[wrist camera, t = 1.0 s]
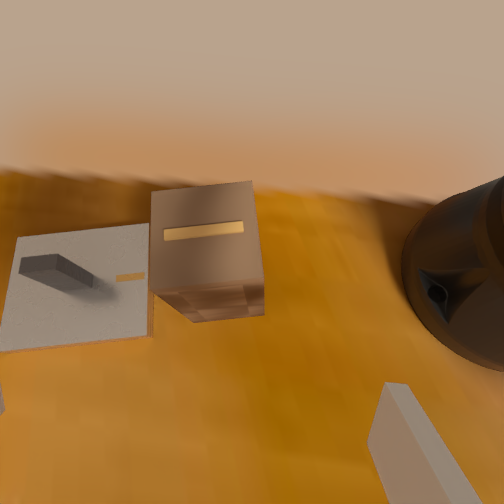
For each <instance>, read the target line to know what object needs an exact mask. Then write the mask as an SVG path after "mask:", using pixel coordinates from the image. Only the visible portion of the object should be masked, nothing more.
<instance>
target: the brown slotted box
mask: <svg viewBox="0 0 504 504" xmlns="http://www.w3.org/2000/svg"><path fill="white" fill-rule="evenodd" d="M150 290H151V291H152V292H153V293H155V294H156V295H157V296H159V297H160V298H161V299H163V300H164V301H165V302H167V303H168V304H169V305H171V306H172V307H173V308H175V309H176V310H177V311H179V312H180V313H181V314H183V315H184V316H185V317H187V318H188V319H189V320H191V321H192V322H193V323H198V322H207V321H216V320H225V319H234V318H243V317H252V316H261V315H264V273H263V265H262V257H261V249H260V240H259V232H258V224H257V216H256V208H255V200H254V191H253V183H252V181H244V182H235V183H225V184H216V185H207V186H198V187H189V188H180V189H171V190H161V191H152V192H151V238H150Z"/></svg>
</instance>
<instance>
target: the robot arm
mask: <svg viewBox="0 0 504 504" xmlns="http://www.w3.org/2000/svg"><path fill="white" fill-rule="evenodd" d="M401 265H402V277H403V283H404V287H405V290H406V293H407V296H408V298H409V301H410V303H411V305H412V307H413V309H414V310H415V312H416V314H417V315H418V317H419V318H420V320H421V321H422V322H423V324H424V325H425V326H426V327H427V328H428V330H429V331H430V332H431V333H432V334H433V335H434V336H435V337H436V338H437V339H438V340H439V341H441V342H442V343H443V344H444V345H445V346H447V347H448V348H449V349H451V350H452V351H454V352H455V353H457V354H458V355H460V356H462V357H463V358H465V359H467V360H469V361H471V362H473V363H476V364H478V365H481V366H483V367H486V368H490V369H493V370H497V371H503V372H504V176H503V177H501V178H498V179H496V180H493V181H491V182H488V183H486V184H483V185H480V186H478V187H476V188H473V189H471V190H468V191H466V192H463V193H459V194H457V195H453V196H451V197H449V198H447V199H445V200H444V201H442V202H440V203H439V204H437V205H436V206H435V207H433V208H432V209H431V210H430V211H429V212H428V213H427V214H426V215H425V216H424V217H423V218H422V219H421V220H420V221H419V222H418V223H417V224H416V225H415V226H414V228H413V229H412V230H411V232H410V234H409V236H408V238H407V240H406V242H405V245H404V249H403V253H402V263H401ZM4 411H5V406H4V400H3V395H2V390H1V384H0V415H1V414H2V413H3V412H4ZM367 445H368V447H369V450H370V453H371V455H372V458H373V461H374V463H375V466H376V469H377V471H378V474H379V477H380V479H381V482H382V485H383V487H384V490H385V493H386V495H387V498H388V501H389V503H390V504H483V503H482V501H481V500H480V498H479V497H478V495H477V494H476V492H475V490H474V489H473V487H472V486H471V484H470V483H469V481H468V479H467V478H466V476H465V475H464V473H463V472H462V470H461V468H460V467H459V465H458V464H457V462H456V461H455V459H454V457H453V456H452V454H451V453H450V451H449V450H448V448H447V446H446V445H445V443H444V442H443V440H442V439H441V437H440V435H439V434H438V432H437V431H436V429H435V428H434V426H433V424H432V423H431V421H430V420H429V418H428V417H427V415H426V413H425V412H424V410H423V409H422V407H421V406H420V404H419V402H418V401H417V399H416V398H415V396H414V395H413V393H412V391H411V390H410V388H409V387H408V385H407V384H399V383H389V382H385V383H384V387H383V390H382V393H381V397H380V400H379V403H378V407H377V410H376V413H375V417H374V420H373V423H372V427H371V430H370V433H369V437H368V440H367Z"/></svg>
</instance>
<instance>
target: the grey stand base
mask: <svg viewBox="0 0 504 504" xmlns="http://www.w3.org/2000/svg"><path fill="white" fill-rule="evenodd" d="M150 238H151V225H150V224H149V223H144V224H135V225H126V226H117V227H108V228H99V229H90V230H80V231H71V232H62V233H53V234H44V235H35V236H26V237H18V238H17V243H16V248H15V254H14V259H13V264H12V269H11V274H10V280H9V285H8V290H7V295H6V301H5V306H4V311H3V316H2V322H1V327H0V352H2V353H17V352H26V351H35V350H44V349H53V348H62V347H71V346H80V345H89V344H98V343H107V342H116V341H125V340H134V339H143V338H152V337H153V292H152V291H151V290H150Z"/></svg>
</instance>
